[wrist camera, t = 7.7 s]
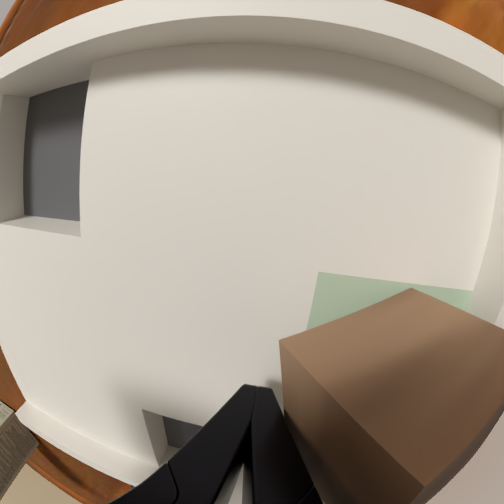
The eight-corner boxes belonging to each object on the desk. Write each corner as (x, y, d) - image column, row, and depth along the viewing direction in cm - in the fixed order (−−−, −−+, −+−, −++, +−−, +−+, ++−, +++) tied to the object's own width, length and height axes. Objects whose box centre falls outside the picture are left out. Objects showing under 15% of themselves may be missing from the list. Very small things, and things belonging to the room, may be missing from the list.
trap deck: (357, 472, 12) (361, 517, 9) (45, 394, 14) (20, 422, 11) (486, 100, 6) (548, 88, 3) (3, 93, 8) (-45, 92, 5)
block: (391, 393, 8) (472, 457, 4) (285, 448, 7) (360, 548, 3) (411, 287, 7) (535, 344, 3) (278, 339, 5) (424, 486, 2)
